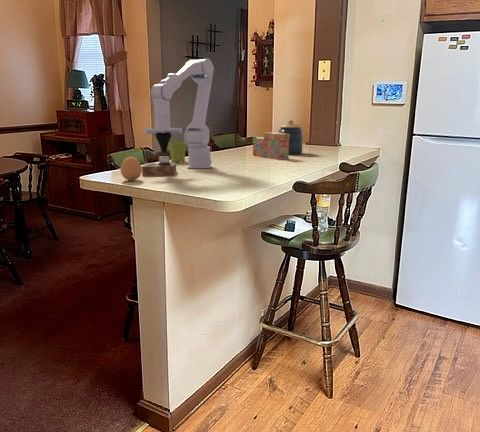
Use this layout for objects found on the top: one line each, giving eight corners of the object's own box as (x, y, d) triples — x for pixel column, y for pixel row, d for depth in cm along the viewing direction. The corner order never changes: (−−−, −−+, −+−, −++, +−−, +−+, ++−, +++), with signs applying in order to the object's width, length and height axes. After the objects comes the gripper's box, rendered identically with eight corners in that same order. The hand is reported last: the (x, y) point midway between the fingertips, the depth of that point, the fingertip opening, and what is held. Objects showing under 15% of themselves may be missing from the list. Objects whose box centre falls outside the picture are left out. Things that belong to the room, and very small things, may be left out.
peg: (170, 164, 186) (169, 155, 185) (169, 166, 182) (168, 157, 181) (160, 164, 186) (159, 156, 185) (158, 166, 182) (158, 157, 181)
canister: (303, 154, 244) (304, 120, 240) (278, 154, 245) (279, 120, 240) (301, 152, 257) (301, 119, 253) (277, 152, 257) (277, 119, 253)
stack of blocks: (252, 155, 242) (252, 131, 239) (262, 155, 245) (262, 131, 243) (279, 160, 225) (279, 133, 222) (289, 159, 228) (289, 133, 225)
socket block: (176, 171, 189) (175, 162, 189) (174, 175, 180) (173, 165, 179) (146, 171, 189) (145, 162, 188) (142, 175, 179) (141, 166, 178)
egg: (123, 182, 164) (121, 158, 162) (119, 179, 170) (118, 156, 168) (144, 181, 167) (143, 157, 165) (139, 178, 173) (138, 155, 171)
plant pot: (163, 162, 217) (162, 143, 215) (174, 160, 225) (173, 141, 223) (181, 163, 213) (181, 144, 211) (191, 160, 222) (190, 142, 220)
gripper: (177, 116, 186) (178, 150, 189) (140, 116, 180) (142, 152, 183) (183, 116, 180) (184, 152, 183) (145, 117, 173) (147, 154, 177)
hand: (163, 152), depth 182 cm, fingers closed
